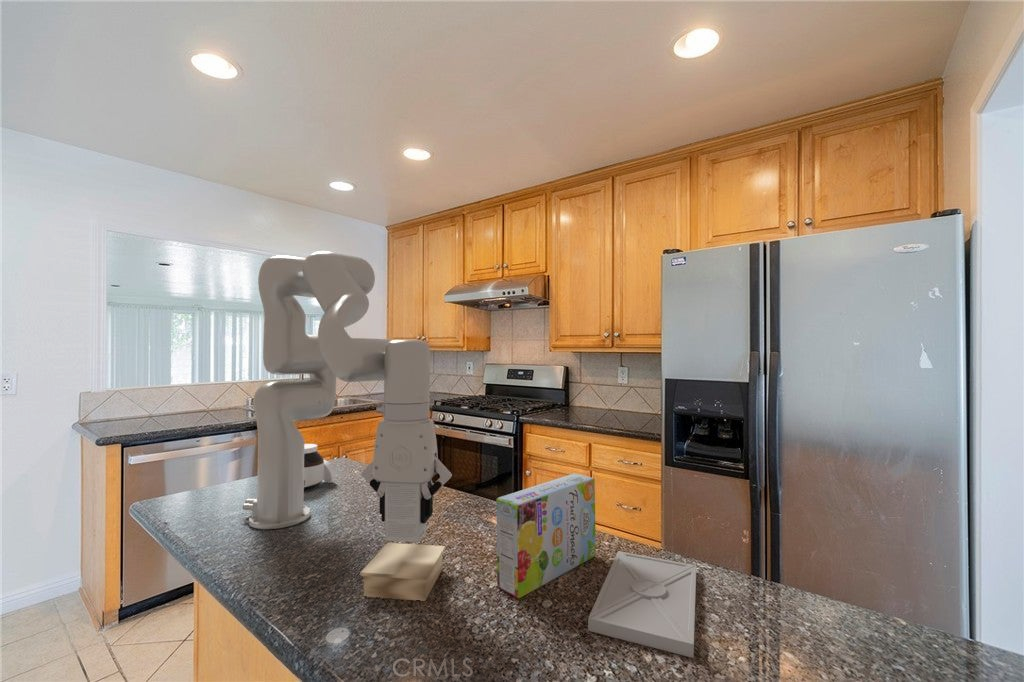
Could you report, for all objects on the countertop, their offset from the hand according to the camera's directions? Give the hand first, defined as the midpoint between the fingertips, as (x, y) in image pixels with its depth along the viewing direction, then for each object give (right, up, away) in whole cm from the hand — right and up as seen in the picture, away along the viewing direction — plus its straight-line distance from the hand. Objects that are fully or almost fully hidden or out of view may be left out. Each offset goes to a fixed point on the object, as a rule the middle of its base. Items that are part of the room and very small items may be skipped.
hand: (406, 518), depth 75 cm
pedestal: (0, -11, 0) cm, 11 cm away
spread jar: (-39, -12, +52) cm, 66 cm away
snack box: (+25, -11, +4) cm, 27 cm away
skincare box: (0, -3, 0) cm, 3 cm away
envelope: (+40, -12, -4) cm, 41 cm away
